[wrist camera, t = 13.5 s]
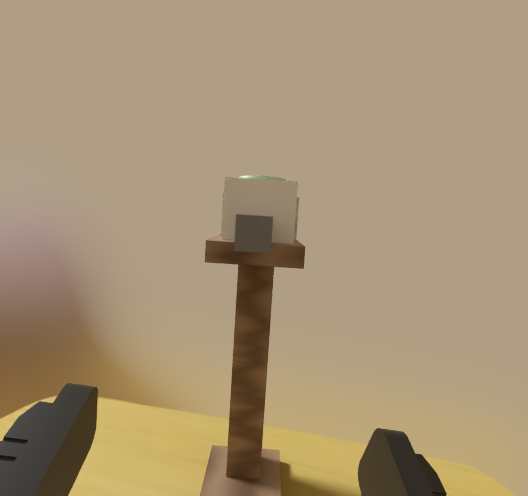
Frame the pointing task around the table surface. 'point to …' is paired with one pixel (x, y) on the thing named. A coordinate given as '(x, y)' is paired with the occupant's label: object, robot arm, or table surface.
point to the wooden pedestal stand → (249, 372)
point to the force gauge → (259, 212)
